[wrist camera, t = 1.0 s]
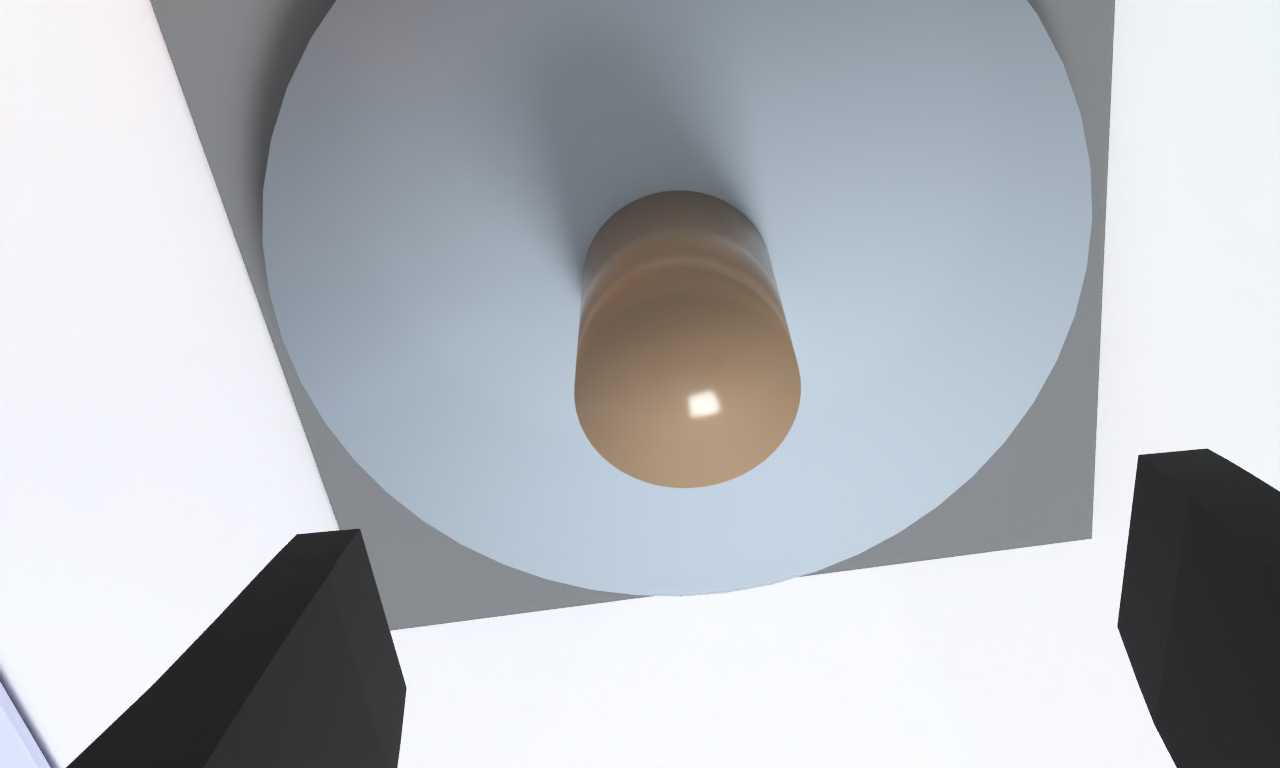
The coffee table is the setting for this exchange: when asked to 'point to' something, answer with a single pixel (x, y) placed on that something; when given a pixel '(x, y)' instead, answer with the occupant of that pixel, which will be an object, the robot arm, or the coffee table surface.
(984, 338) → the lid
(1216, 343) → the coffee table surface
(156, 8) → the mat
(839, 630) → the coffee table surface
